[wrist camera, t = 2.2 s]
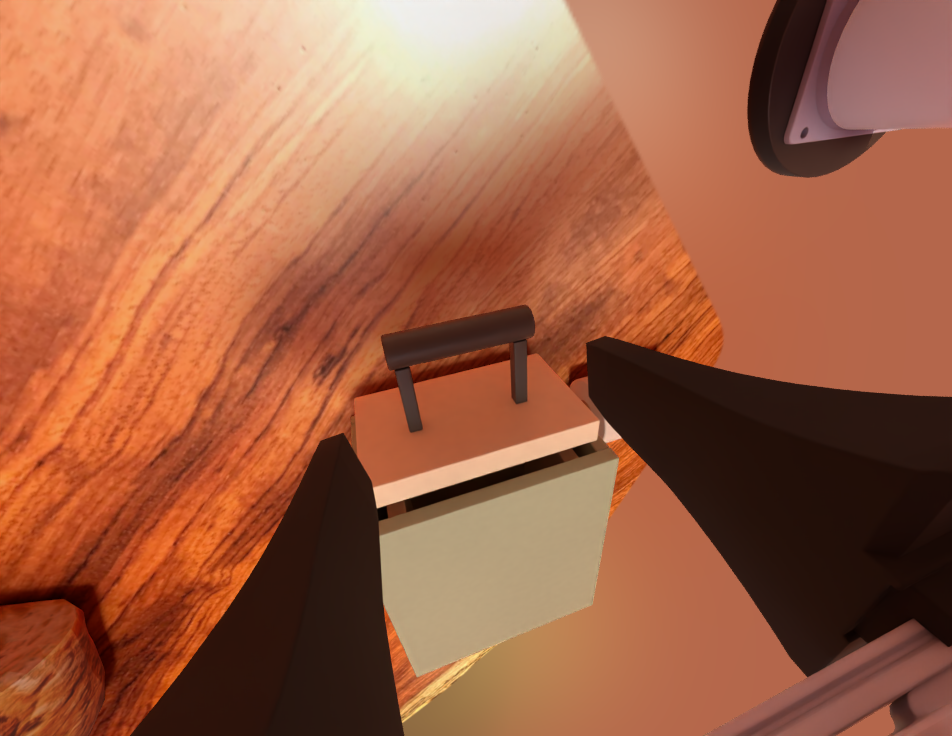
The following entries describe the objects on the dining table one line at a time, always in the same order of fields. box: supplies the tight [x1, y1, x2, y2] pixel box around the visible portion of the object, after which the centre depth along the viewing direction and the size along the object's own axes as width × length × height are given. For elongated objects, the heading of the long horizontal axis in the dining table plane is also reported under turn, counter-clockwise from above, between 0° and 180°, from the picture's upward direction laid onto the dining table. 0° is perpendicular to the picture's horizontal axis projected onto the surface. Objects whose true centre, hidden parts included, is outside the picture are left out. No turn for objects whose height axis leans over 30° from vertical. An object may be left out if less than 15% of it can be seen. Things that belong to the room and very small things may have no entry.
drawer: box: [354, 305, 600, 518], centre depth 19 cm, size 17×10×6 cm, turn 5°
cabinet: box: [351, 416, 619, 677], centre depth 22 cm, size 13×11×8 cm
